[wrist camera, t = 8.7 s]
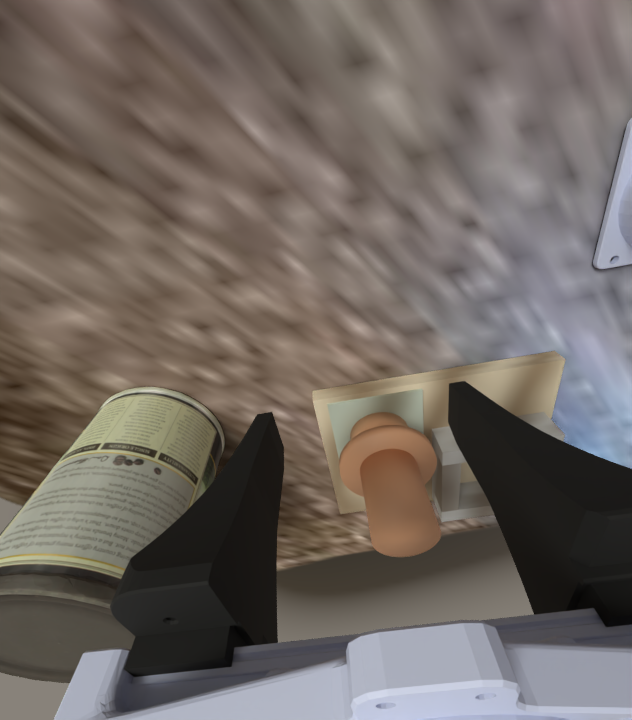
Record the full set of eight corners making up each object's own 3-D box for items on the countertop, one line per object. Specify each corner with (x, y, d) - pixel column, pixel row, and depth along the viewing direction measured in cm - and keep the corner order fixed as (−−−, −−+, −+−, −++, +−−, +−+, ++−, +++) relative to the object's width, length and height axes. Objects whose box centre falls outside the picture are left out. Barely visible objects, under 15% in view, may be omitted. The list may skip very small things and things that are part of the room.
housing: (554, 350, 25) (591, 379, 22) (527, 476, 32) (551, 512, 29) (312, 390, 26) (313, 423, 23) (339, 502, 33) (342, 539, 30)
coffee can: (243, 464, 30) (203, 671, 18) (138, 485, 31) (33, 693, 19) (194, 371, 25) (90, 577, 13) (69, 400, 26) (-135, 615, 14)
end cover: (434, 405, 25) (485, 505, 18) (408, 467, 29) (442, 571, 22) (345, 396, 25) (361, 496, 17) (329, 460, 28) (337, 566, 21)
